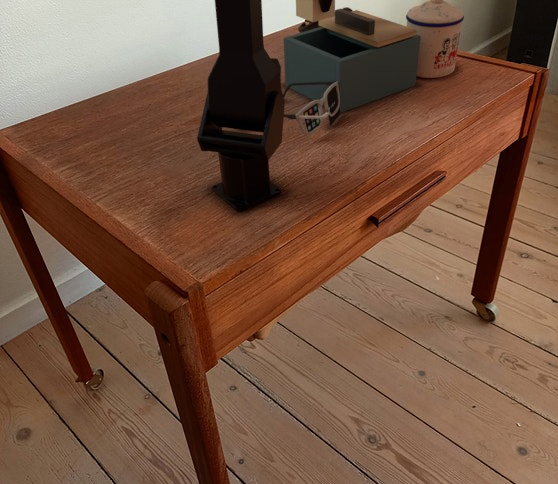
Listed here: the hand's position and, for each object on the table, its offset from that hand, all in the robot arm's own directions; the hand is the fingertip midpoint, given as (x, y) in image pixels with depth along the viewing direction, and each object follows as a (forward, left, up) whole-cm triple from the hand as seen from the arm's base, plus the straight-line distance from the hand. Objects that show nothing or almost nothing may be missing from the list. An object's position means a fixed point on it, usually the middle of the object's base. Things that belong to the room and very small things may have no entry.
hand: (316, 8), depth 84 cm
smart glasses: (-6, +7, -12) cm, 15 cm away
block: (0, 0, -1) cm, 1 cm away
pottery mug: (+17, -16, -14) cm, 27 cm away
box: (+1, -7, -14) cm, 15 cm away
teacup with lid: (-2, -23, -14) cm, 27 cm away
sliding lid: (+1, -10, -5) cm, 12 cm away
